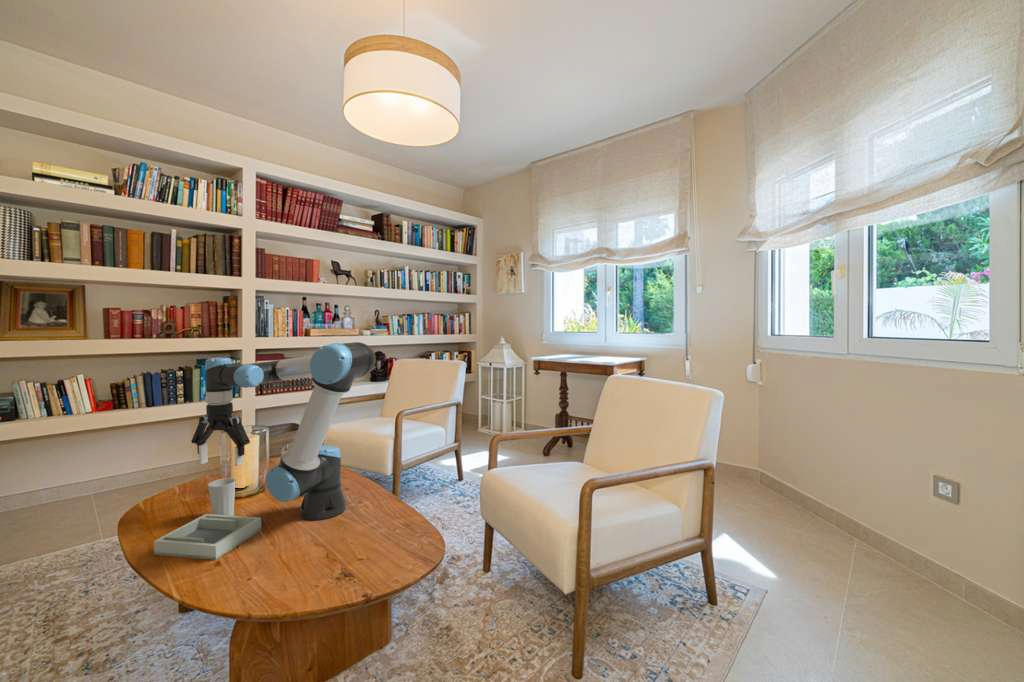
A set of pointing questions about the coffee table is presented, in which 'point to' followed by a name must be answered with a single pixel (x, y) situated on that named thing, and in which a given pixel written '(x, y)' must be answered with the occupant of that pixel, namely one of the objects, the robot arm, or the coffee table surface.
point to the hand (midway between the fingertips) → (221, 464)
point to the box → (207, 536)
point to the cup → (222, 496)
